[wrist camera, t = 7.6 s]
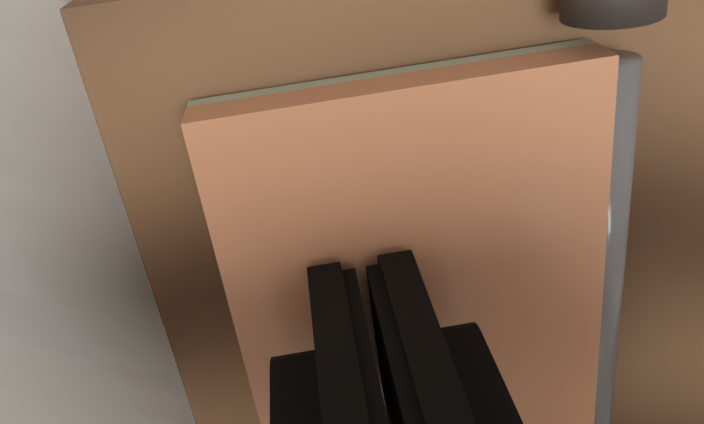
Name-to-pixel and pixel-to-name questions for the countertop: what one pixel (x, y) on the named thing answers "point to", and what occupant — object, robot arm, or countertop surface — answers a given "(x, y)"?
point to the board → (374, 55)
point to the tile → (437, 207)
